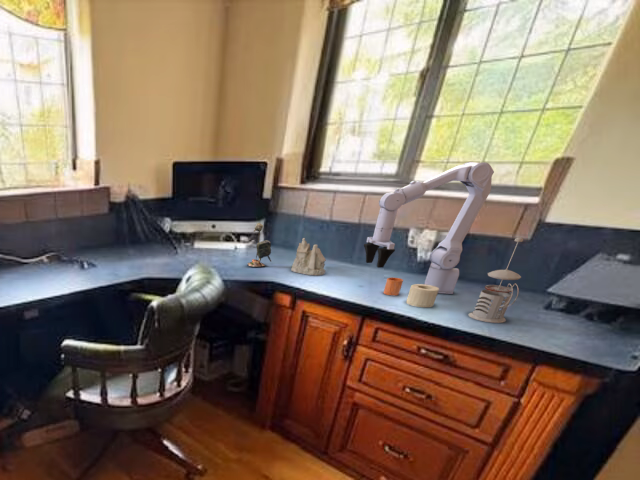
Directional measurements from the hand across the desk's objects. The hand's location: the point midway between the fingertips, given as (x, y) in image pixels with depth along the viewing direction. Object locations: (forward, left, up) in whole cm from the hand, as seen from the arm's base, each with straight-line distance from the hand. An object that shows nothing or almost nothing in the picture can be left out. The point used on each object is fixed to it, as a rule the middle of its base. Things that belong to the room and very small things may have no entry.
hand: (374, 265), depth 162 cm
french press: (-31, +27, -10) cm, 42 cm away
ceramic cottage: (+21, -25, -10) cm, 34 cm away
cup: (-7, +5, -9) cm, 13 cm away
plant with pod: (+44, -29, -10) cm, 54 cm away
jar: (-14, +16, -9) cm, 23 cm away
